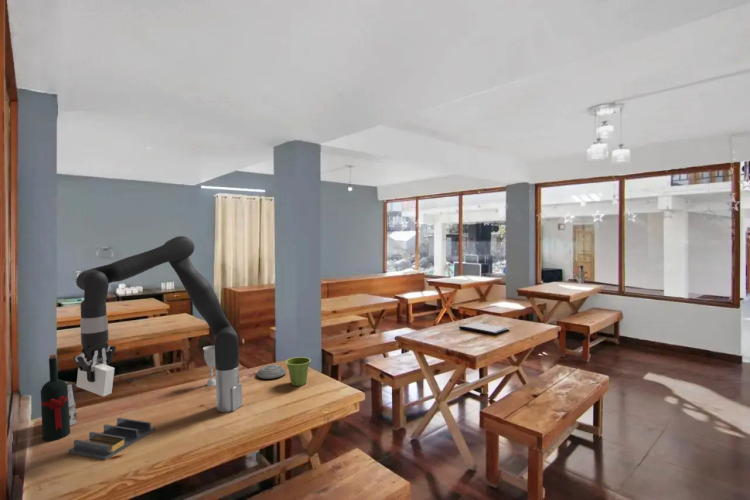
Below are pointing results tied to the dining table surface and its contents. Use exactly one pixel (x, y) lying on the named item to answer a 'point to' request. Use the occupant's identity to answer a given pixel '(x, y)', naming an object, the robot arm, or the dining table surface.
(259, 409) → the dining table surface
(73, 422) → the coffee box
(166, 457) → the dining table surface
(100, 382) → the panel
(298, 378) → the plant pot
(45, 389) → the wine bottle
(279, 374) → the grey stone
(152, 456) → the dining table surface
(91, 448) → the rack
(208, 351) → the chalice
